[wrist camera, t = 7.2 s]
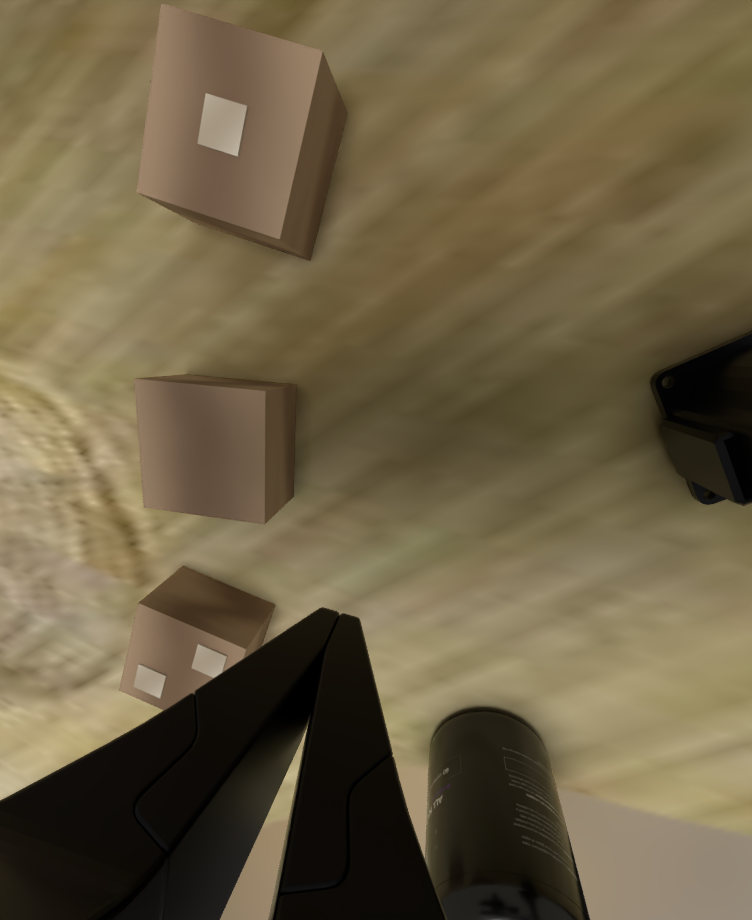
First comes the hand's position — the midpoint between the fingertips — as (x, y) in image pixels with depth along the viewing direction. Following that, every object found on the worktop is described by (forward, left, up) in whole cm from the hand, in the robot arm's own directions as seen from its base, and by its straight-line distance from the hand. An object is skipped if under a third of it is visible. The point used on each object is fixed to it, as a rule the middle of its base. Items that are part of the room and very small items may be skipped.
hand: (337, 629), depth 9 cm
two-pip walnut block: (+15, +4, -13) cm, 20 cm away
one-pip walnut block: (-1, -15, -13) cm, 20 cm away
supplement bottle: (+3, +18, -13) cm, 23 cm away
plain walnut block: (+7, -5, -13) cm, 16 cm away
